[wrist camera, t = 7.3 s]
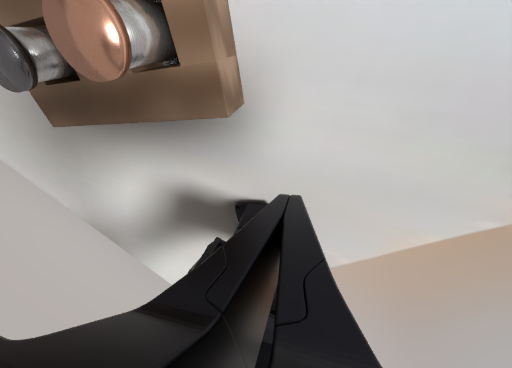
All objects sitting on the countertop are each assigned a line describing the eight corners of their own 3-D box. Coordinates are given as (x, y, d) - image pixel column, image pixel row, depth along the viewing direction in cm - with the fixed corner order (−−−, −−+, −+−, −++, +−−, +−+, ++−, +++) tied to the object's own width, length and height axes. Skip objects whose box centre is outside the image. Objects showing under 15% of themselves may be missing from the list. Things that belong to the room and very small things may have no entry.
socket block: (244, 103, 20) (228, 117, 16) (87, 115, 26) (53, 127, 22) (211, -102, 13) (173, -143, 10) (9, -21, 19) (-54, -31, 16)
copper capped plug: (195, 62, 17) (134, 78, 12) (150, 68, 18) (77, 85, 13) (176, -12, 14) (88, -35, 9) (126, 2, 16) (23, -11, 11)
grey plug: (112, 73, 21) (38, 89, 16) (80, 78, 22) (2, 94, 17) (86, 17, 18) (-12, 13, 13) (52, 26, 20) (-50, 25, 14)
